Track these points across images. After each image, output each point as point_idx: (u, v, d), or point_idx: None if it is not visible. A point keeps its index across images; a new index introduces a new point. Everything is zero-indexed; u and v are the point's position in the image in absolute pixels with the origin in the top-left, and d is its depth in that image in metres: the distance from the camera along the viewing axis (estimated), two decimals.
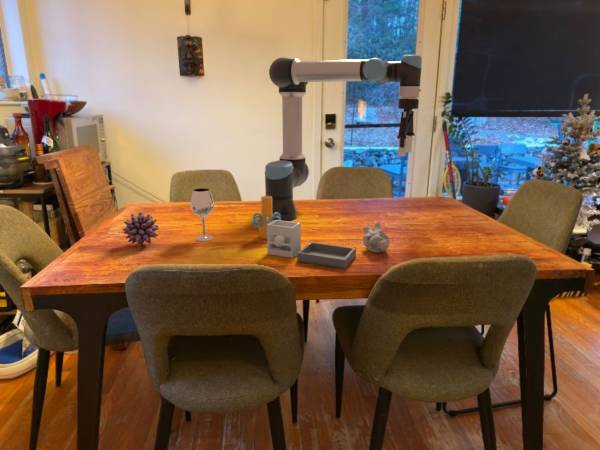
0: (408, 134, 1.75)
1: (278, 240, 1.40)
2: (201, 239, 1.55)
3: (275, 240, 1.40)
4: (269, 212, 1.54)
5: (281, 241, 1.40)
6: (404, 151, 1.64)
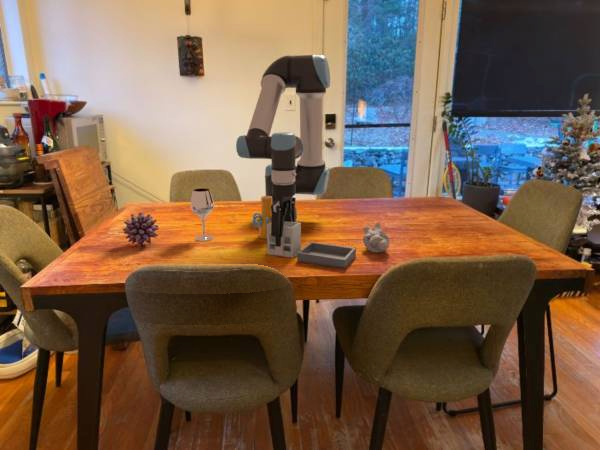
0: None
1: None
2: (201, 239, 1.55)
3: None
4: (269, 212, 1.54)
5: None
6: (281, 250, 1.38)
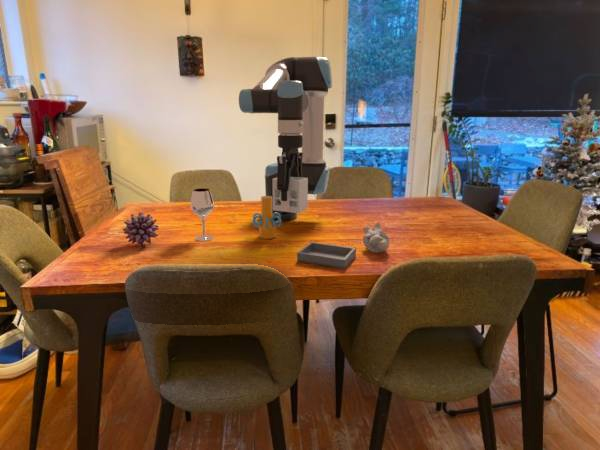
0: None
1: None
2: (201, 239, 1.55)
3: None
4: (269, 212, 1.54)
5: None
6: (287, 205, 1.32)
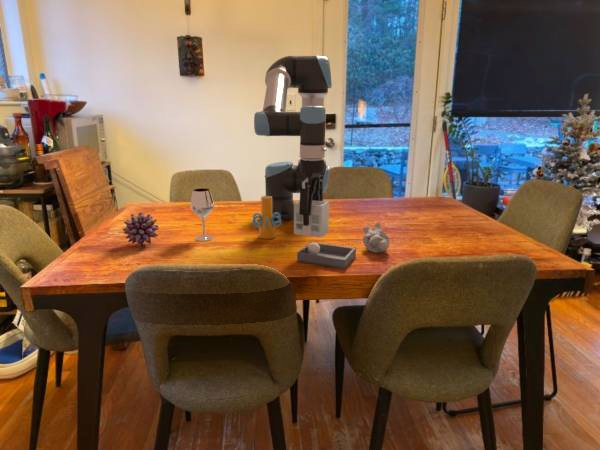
0: None
1: (309, 246, 1.37)
2: (201, 239, 1.55)
3: (308, 249, 1.38)
4: (269, 212, 1.54)
5: (311, 244, 1.37)
6: (309, 230, 1.32)
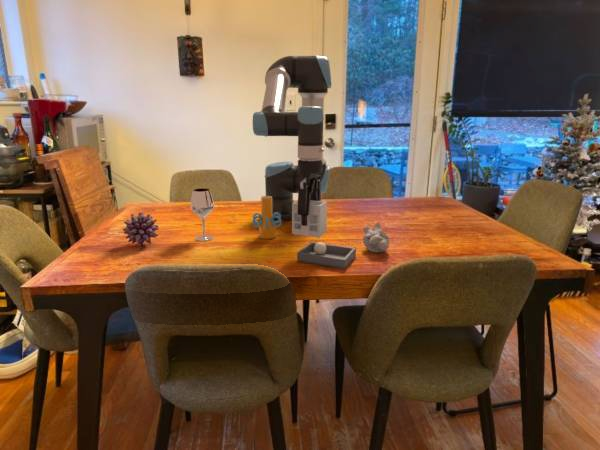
0: None
1: (320, 243, 1.38)
2: (201, 239, 1.55)
3: (317, 244, 1.38)
4: (269, 212, 1.54)
5: (323, 244, 1.38)
6: (307, 230, 1.32)
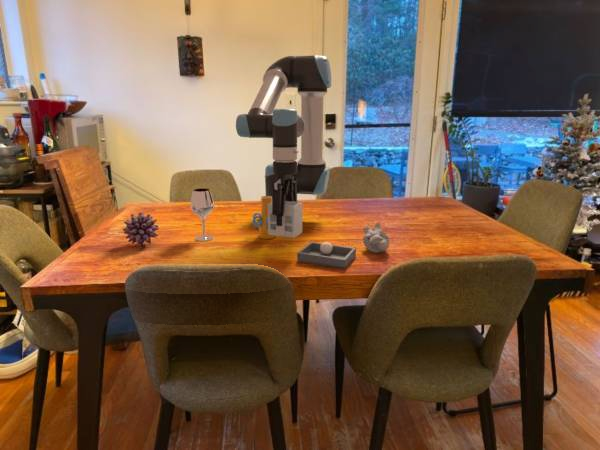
0: None
1: (331, 245, 1.39)
2: (201, 239, 1.55)
3: (329, 243, 1.38)
4: None
5: None
6: (282, 230, 1.35)
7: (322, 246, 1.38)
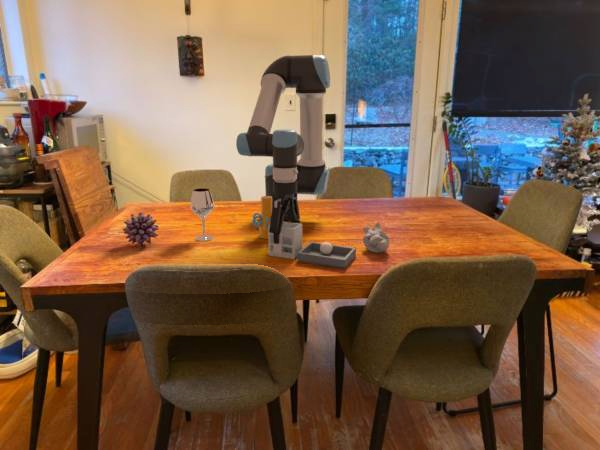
0: (292, 221, 1.44)
1: (331, 246, 1.38)
2: (201, 239, 1.55)
3: (328, 244, 1.38)
4: (269, 212, 1.54)
5: None
6: (280, 247, 1.34)
7: (322, 247, 1.38)
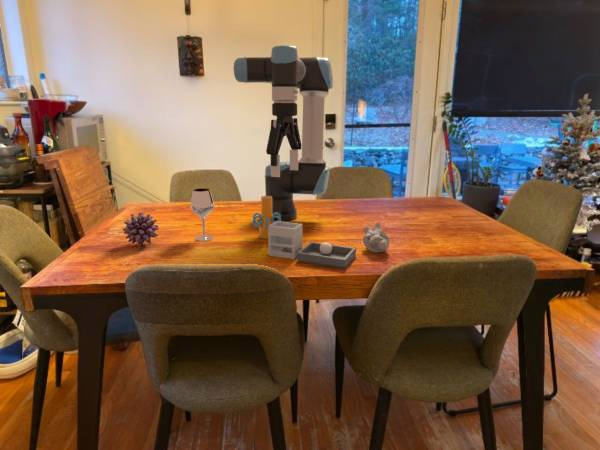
0: (293, 147, 1.38)
1: (330, 246, 1.38)
2: (201, 239, 1.55)
3: (328, 244, 1.38)
4: (269, 212, 1.54)
5: (331, 248, 1.38)
6: (277, 171, 1.26)
7: (321, 247, 1.37)
